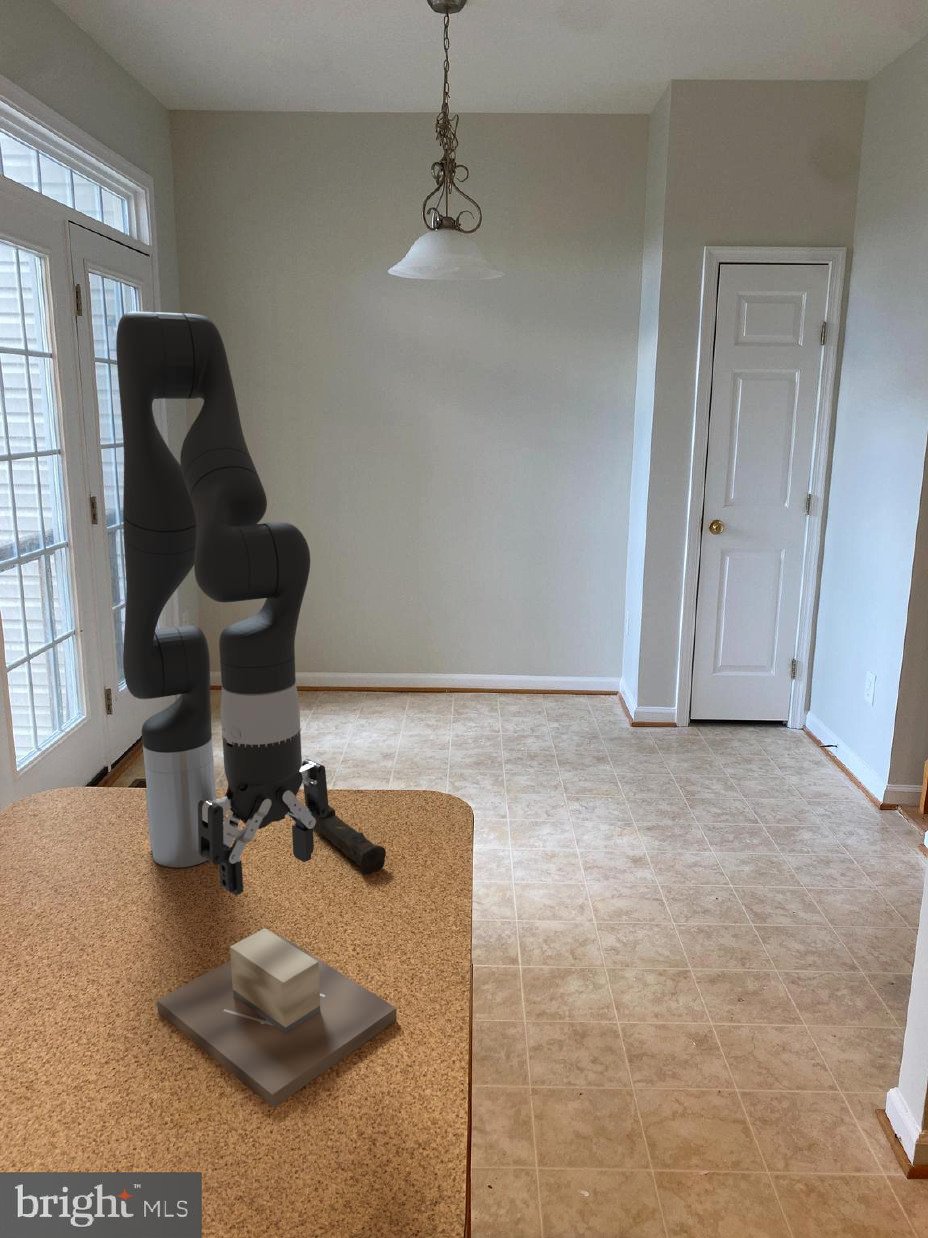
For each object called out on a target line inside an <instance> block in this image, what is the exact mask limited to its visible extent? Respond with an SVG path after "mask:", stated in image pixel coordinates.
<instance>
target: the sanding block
mask: <svg viewBox="0 0 928 1238" xmlns="http://www.w3.org/2000/svg"><path fill="white" fill-rule="evenodd" d="M277 935H278V934H276V933H274V932H272V931H270V930H269V929H267V928H265V927H264V928H262V929H260V930H258V931H257V932H255V933H253V934H251V935H250V936H247V937H246V938H243V939H242V940H240V941H237V942H236V943H234V944H233V945H231V946H229V953H230V960H231V969H232V983H233V996H234V997H236V998H237V999H238V1000H240V1001H241V1002H242V1003H244V1004H245V1005H247V1006H248V1007H249V1008H251V1009H252V1010H253V1011H255V1012H256V1013H257V1014H259V1015H260V1016H261V1017H263V1018H264V1019H266V1020H267V1021H268V1022H270V1023H271V1024H272V1025H274V1026H275V1027H276V1028H278V1029H279V1030H281V1031H282V1032H283V1033H285V1034H287V1033H289V1032H290V1031H292V1030H294V1029H295V1028H297V1027H298V1026H300V1025H301V1024H303V1023H304V1022H306V1021H307V1020H309V1019H311V1018H312V1017H314V1016H315V1015H317V1014H318V1013H320V1012H321V1011H320V988H319V964H318V961H316V960H315V959H313V958H312V957H310V956H309V955H307V954H305V953H304V952H302V951H301V950H299V949H297V948H296V947H294V946H293V945H291V944H289V943H288V942H286V941H285V940H283V939H282V938H280V937H278V936H277Z"/></svg>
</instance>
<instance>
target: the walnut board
mask: <svg viewBox="0 0 928 1238" xmlns="http://www.w3.org/2000/svg"><path fill="white" fill-rule="evenodd" d="M276 935H277V936H278V937H280V938H282V939H283V940H285V941H286V942H288V943H289V944H291V945H293V946H294V947H296V948H297V949H299V950H301V951H302V952H304V953H305V954H307V955H309V956H310V957H312V958H313V959H315V960H316V961H318V964H319V988H320V1011H321V1012H320V1013H318V1014H317V1015H315V1016H314V1017H312V1018H311V1019H309V1020H307V1021H306V1022H304V1023H303V1024H301V1025H300V1026H298V1027H297V1028H295V1029H294V1030H292V1031H290V1032H289V1033H287V1034H285V1033H283V1032H282V1031H281V1030H279V1029H278V1028H276V1027H275V1026H274V1025H272V1024H271V1023H270V1022H268V1021H267V1020H266V1019H264V1018H263V1017H261V1016H260V1015H259V1014H257V1013H256V1012H255V1011H253V1010H252V1009H251V1008H249V1007H248V1006H247V1005H245V1004H244V1003H242V1002H241V1001H240V1000H238V999H237V998H236V997H234V996H233V983H232V969H231V959H230V960H228V961H226V962H224V963H222V964H220V965H219V966H217V967H215V968H212V969H211V970H210V971H207V972H205V973H204V974H202V975H200V976H198V977H197V978H194V979H192V980H191V981H189V982H187V983H185V984H184V985H182V986H180V987H177V989H175V990H173V991H171V992H169V993H167V994H165V995H164V996H161V997H160V998H158V999H156V1006H157V1013H159V1015H161V1016H162V1017H163V1018H164V1019H166V1020H167V1021H168V1022H169V1023H170V1024H172V1025H173V1026H174V1027H175V1028H177V1030H179V1031H180V1032H181V1033H182V1034H184V1035H185V1036H186V1037H187V1039H190V1040H191V1041H192V1042H193V1043H194V1044H195V1045H197V1046H198V1047H199V1048H200V1049H201V1050H203V1051H204V1052H205V1053H206V1054H207V1055H209V1056H210V1057H211V1058H212V1059H213V1060H215V1061H216V1062H217V1063H218V1064H219V1065H221V1067H223V1068H224V1069H225V1070H227V1072H229V1073H230V1074H231V1075H233V1076H234V1077H235V1078H236V1079H238V1080H239V1081H240V1082H241V1083H242V1084H243V1085H244V1086H246V1088H248V1089H250V1091H252V1092H253V1093H254V1094H256V1095H257V1097H259V1098H260V1099H261V1100H262V1101H264V1102H265V1103H266V1104H268V1105H269V1106H270V1107H271V1108H273V1109H274V1108H275V1107H277V1106H278V1105H280V1104H281V1103H283V1102H284V1101H286V1100H287V1099H288V1098H290V1097H291V1096H292V1095H294V1094H296V1092H298V1091H299V1090H301V1089H302V1088H303V1087H305V1086H307V1085H308V1084H309V1083H311V1082H312V1081H313V1080H315V1079H317V1078H318V1077H319V1076H321V1075H322V1074H323V1073H324V1072H326V1071H327V1070H328V1069H330V1068H332V1067H333V1066H334V1065H336V1064H337V1063H339V1062H340V1061H342V1060H343V1059H345V1057H347V1056H349V1055H350V1054H351V1053H352V1052H354V1051H356V1050H357V1049H359V1048H360V1047H361V1046H362V1045H364V1044H366V1043H367V1042H369V1040H371V1039H372V1038H373V1037H375V1036H377V1035H378V1034H379V1033H381V1032H383V1030H384V1029H386V1028H388V1027H389V1026H390V1025H392V1024H393V1023H395V1022H396V1021H397V1017H398V1016H397V1007H395V1006H394V1005H392V1004H391V1003H389V1002H388V1001H386V1000H385V999H383V998H381V997H380V996H378V995H376V994H375V993H374V992H372V991H370V990H369V989H367V988H366V987H363V986H362V985H360V984H359V983H358V982H356V981H354V980H352V979H351V978H349V977H348V976H347V975H344V974H343V973H342V972H340V971H338V970H336V969H335V968H334V967H332V966H330V965H328V964H327V963H326V962H324V961H322V960H321V959H319V958H318V957H317V956H315V955H312V954H311V953H309V952H308V951H306V950H305V949H303V948H301V947H300V946H299V945H297V944H296V943H294V942H292V941H290V940H289V939H287V938H286V937H284V936H282V935H280V933H278V934H276Z"/></svg>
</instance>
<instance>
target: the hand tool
mask: <svg viewBox="0 0 928 1238" xmlns="http://www.w3.org/2000/svg"><path fill="white" fill-rule="evenodd" d="M313 831H315V832H316V833H317V835H318V836H319V837H320V838H321V839H325V838H326V839H328V841H329V842H331V843H332V845H334V847H336V848H338V849H339V850H340V851H341V852H342V853H343V854H344V855H346V856H347V858H349V859H350V860H351V861H353V862H355V863H356V864H357V865H358V866H359V867H360V873H361V874H362V875H363V876H367V875H370V874H374V873H377V872H378V871H380V870H382V869H383V867H384V866H385V863H386V860H385V859H386V857H387V852H386V851H387V850H386V848H385V847H383V846H382V845H376V844H374V843H373V842H371V840H369V839H367V838H366V836H365V835H364V833H363V832H362V831H361V832H359V831H357V830H356V829H354V828H353V827H351V826H350V825H349V824H348V823H347V822H345V821H343V820H342V819H341V818H340V817H338V815H336V809H334V808H333V807H331V806H330V805H329V812H328V814H327V816H325V817H320V818H319V819H317V820H316V824H315V826H314V827H313Z"/></svg>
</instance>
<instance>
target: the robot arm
mask: <svg viewBox="0 0 928 1238" xmlns="http://www.w3.org/2000/svg"><path fill="white" fill-rule="evenodd" d="M115 341H116V343H115V344H116V345H115V347H116V349H115V350H116V366H117V379H118V390H119V391H118V393H119V402H120V403H119V404H120V414H121V415H120V417H121V428H122V440H123V443H122V444H123V496H122V497H123V500H122V501H123V503H122V505H123V506H122V511H123V512H122V515H123V516H122V517H123V518H122V522H123V525H122V526H123V527H122V528H123V545H124V547H123V548H124V565H125V566H124V567H125V581H126V582H125V583H126V585H125V586H126V589H125V590H126V593H125V597H126V598H125V600H126V601H125V616H124V631H123V632H124V634H123V647H122V648H123V651H122V653H123V654H122V666H123V674H124V681H125V684H126V687H127V690H128V691H129V693H130V694H131V695H132V696H133V697H134V698H136V699H139V700H148V699H149V700H151V699H159V698H165V697H171V696H176V695H177V696H178V695H179V696H178V698H177V699H176V700H175V701H174V702H172V704H170V705H169V706H168V707H166V708H164V709H163V710H161V711H159V712H157V713H155V714H153V715H152V716H150V717H149V718H148V719H146V720H145V722H143V724H142V727H141V742H142V749H143V762H144V773H145V783H146V789H145V799H146V800H145V801H146V809H147V823H148V833H149V844H150V850H152V851H151V853H152V858H153V861H155V863H156V864H158V865H160V866H162V867H163V866H164V867H169V868H187V867H192V866H197V865H200V864H202V863H205V862H207V861H209V862H211V864H213V865H214V866H218V865H219V867H218V868H219V882H220V883H219V884H220V885H221V887H222V889H225V891H227V892H228V893H230V894H232V895H233V896H235V897H237V896H238V895H241V894H243V893H244V881H243V878H244V877H243V861H242V860H241V859H240V857H241V856H242V854H243V852H244V850H245V847H246V846H247V844H248V843H251V842H252V841H253V840H254V838H255V837H254V836H255V835H256V833H257V831H258V830H262V829H264V828H266V827H268V826H269V825H270V824H271V823H273V822H280V821H282V820H284V819H286V815H287V816H288V817H289V818H290V819H291V820H292V821H293V822H295V823H294V824H292V825H291V832H292V833H291V834H292V835H291V837H292V854H293V857H294V858H295V859H297V860H299V861H301V862H302V863H307V862H309V861H310V860H312V854H313V853H314V849H315V844H314V843H315V842H314V841H315V840H314V828H313V827H314V826H315V824H316V820H317V819H319V818H320V817H325V816H327V814H328V812H329V806H330V805H329V797H328V786H327V773H326V767H325V765H323V764H320V763H318V762H315V761H314V760H311V759H307V758H306V759H304V760H303V759H302V755H303V754H302V734H301V733H302V731H301V714H300V713H301V711H300V709H301V708H300V699H299V694H298V689H297V681H296V655H295V653H296V652H295V643H296V642H295V640H296V633H297V628H298V624H299V623H298V622H299V617H300V612H301V609H302V603H303V599H304V596H305V593H306V589H307V586H308V585H307V584H308V582H309V581H308V580H309V575H310V569H311V552H310V547H309V544H308V541H307V540H306V538H305V536H304V534H303V532H301V530H300V528H298V527H296V526H295V525H293V524H291V523H289V522H283V521H282V522H281V521H279V522H278V521H277V522H265V523H264V522H263V523H260V522H261V520H262V519H263V518H264V516H265V514H266V512H267V507H268V502H267V501H268V500H267V496H266V490H265V489H264V486H263V484H262V482H261V478H260V476H259V473H258V472H257V469H256V467H255V464H254V461H253V459H252V457H251V455H250V454H251V453H250V452H249V449H248V445H247V442H246V439H245V436H244V433H243V432H244V431H243V427H242V422H241V418H240V413H239V408H238V407H239V406H238V403H237V402H238V401H237V397H236V393H235V387H234V384H233V383H234V382H233V379H232V374H231V369H230V366H229V360H228V356H227V351H226V348H225V345H224V340H223V339H222V336H221V333H220V331H219V329H218V327H217V326H216V324H215V323H214V322H213V321H212V320H211V319H210V318H209V317H207V316H205V315H200V314H194V313H181V312H180V313H178V312H163V311H162V312H161V311H128V312H126V313H124V314H123V315H121V318H120V319H119V322H118V324H117V329H116V340H115ZM159 399H161V400H163V399H166V400H168V399H169V400H170V399H171V400H173V399H174V400H176V399H178V400H181V399H182V400H184V399H186V400H194V399H201V400H203V403H202V404H203V405H202V406H201V409H200V411H199V413H198V415H197V417H196V418H195V420H194V421H193V423H192V425H191V426H190V428H189V430H188V432H187V434H186V435H185V437H184V440H183V443H182V446H181V451H180V457H179V458H180V462H179V461H178V460H177V458H176V457H175V456H174V454H173V453H172V451H171V450H170V447H168V444H167V443H166V441H165V440H164V438H163V435H162V434H161V431H160V430H159V427H158V426H157V423H156V420H155V417H154V411H153V402H154V400H159ZM193 568H194V569H193ZM192 569H193V570H194V571H193V572H194V577H195V581H196V583H197V585H198V588H200V590H201V591H202V593H203V594H205V595H206V596H207V597H208V598H210V599H211V600H213V601H215V602H217V603H236V602H244V601H251V600H261V599H265V602H264V603H263V605H262V607H261V608H260V610H259V611H258V612H257V613H255V614H254V615H251V616H250V617H248V618H245V619H242V620H240V621H237V622H235V623H231V624H230V625H228V626H226V627H225V628H224V629H223V630H222V632H221V633H220V636H219V643H218V647H219V648H218V649H219V650H218V651H219V663H220V664H219V665H220V679H221V680H220V681H221V698H220V699H221V700H220V720H221V721H220V722H221V737H222V750H223V751H222V752H223V753H222V754H223V769H224V775H225V777H226V780H227V789H226V792H225V795H224V796H222V797H220V798H219V797H218V798H217V793H216V791H217V790H216V776H215V761H214V759H215V758H214V751H213V750H214V749H213V747H214V746H213V733H212V710H211V709H212V706H211V705H212V704H211V661H210V660H211V659H210V658H211V657H210V651H209V644H208V640H207V638H206V635H205V633H204V632H203V629H201V628H200V627H199V626H197V625H194V624H191V625H190V624H189V625H181V626H173V627H172V626H171V627H166V628H165V627H163V628H157V626H158V621H159V619H160V616H161V615H162V612H163V610H164V608H165V606H166V604H167V603H168V601H169V600H170V598H171V597H172V596H173V594H174V593H175V592H176V591H177V589H178V588H179V586H180V585H181V584H182V583H183V581H184V580H185V579H186V577H187V576H188V574H189V573H190V572H191V571H192ZM302 760H303V761H302ZM302 784H303V792H304V793H303V794H304V804H305V805H304V804H303V803H302V802H301V801H300V799H298V798H297V795H298V793H299V791H300V789H301V787H302ZM229 810H230V811H229ZM228 811H229V814H228V815H227V813H228ZM240 821H241V822H242V823H243V824H245V825H244V827H243V828H242V829H241V828H240V827H239V822H240Z"/></svg>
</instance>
